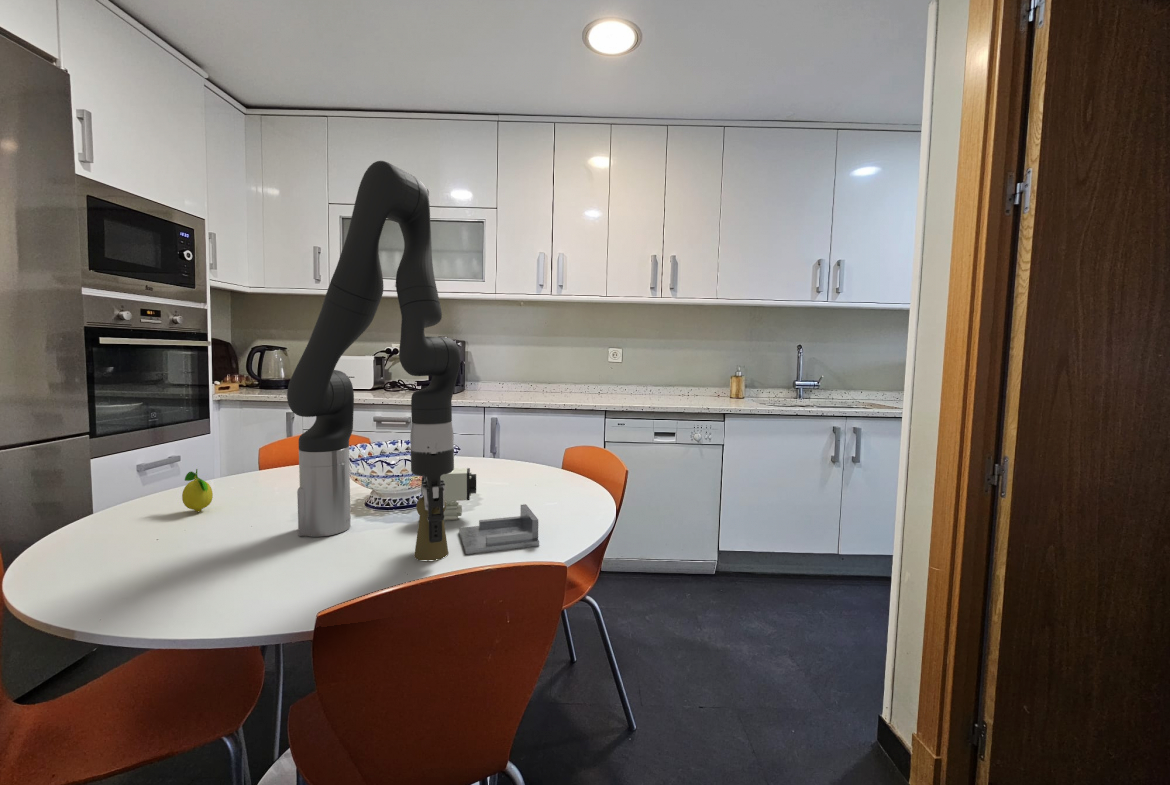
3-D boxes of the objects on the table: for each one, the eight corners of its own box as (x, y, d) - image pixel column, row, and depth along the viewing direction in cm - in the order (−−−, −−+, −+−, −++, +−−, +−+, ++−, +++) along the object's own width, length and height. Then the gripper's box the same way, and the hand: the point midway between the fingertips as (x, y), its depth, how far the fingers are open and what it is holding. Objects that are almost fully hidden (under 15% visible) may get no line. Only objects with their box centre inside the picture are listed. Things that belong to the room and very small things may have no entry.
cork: (455, 551, 94) (454, 494, 93) (435, 563, 88) (435, 502, 87) (428, 546, 96) (427, 490, 95) (407, 558, 90) (406, 499, 89)
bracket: (465, 554, 92) (465, 528, 92) (459, 532, 103) (459, 509, 103) (539, 546, 97) (539, 520, 96) (524, 525, 108) (525, 503, 108)
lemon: (185, 509, 115) (184, 466, 114) (216, 506, 117) (215, 464, 117) (176, 518, 109) (174, 473, 108) (209, 514, 111) (207, 471, 111)
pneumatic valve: (476, 520, 111) (476, 467, 110) (421, 523, 108) (420, 469, 107) (476, 512, 116) (476, 462, 115) (424, 515, 114) (423, 463, 113)
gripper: (409, 441, 96) (411, 523, 97) (411, 455, 82) (413, 550, 84) (449, 439, 98) (451, 519, 99) (457, 452, 85) (459, 544, 86)
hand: (433, 533), depth 92 cm, fingers open, 8 cm apart
